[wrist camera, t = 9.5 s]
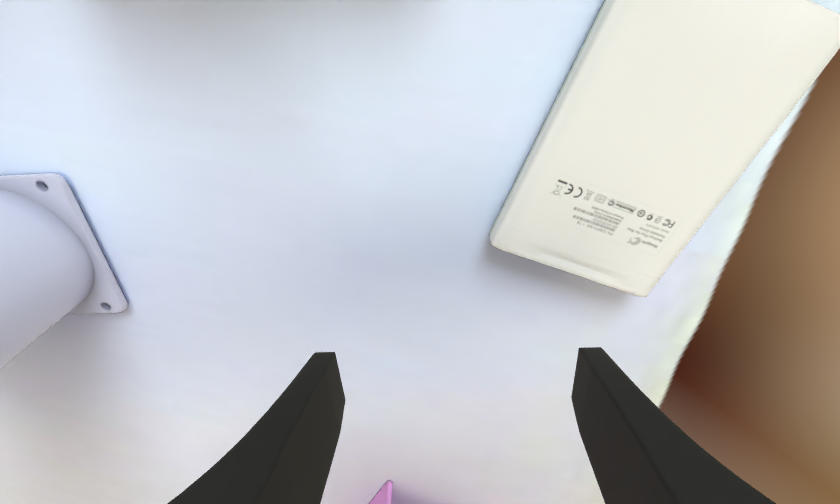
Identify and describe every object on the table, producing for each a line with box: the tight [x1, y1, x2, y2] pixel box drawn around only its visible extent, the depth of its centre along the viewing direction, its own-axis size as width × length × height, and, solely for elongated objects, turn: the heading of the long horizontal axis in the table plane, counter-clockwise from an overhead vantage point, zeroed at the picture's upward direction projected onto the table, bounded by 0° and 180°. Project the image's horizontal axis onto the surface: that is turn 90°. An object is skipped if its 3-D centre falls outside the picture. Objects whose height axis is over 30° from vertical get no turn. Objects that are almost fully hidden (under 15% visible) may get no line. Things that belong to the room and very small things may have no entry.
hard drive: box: [489, 0, 840, 297], centre depth 18 cm, size 2×8×12 cm
